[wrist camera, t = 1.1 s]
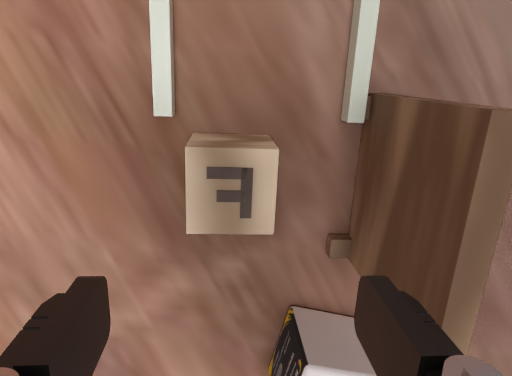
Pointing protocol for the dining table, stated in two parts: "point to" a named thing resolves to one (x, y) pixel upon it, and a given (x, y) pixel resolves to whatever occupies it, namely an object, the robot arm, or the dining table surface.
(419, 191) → the screen
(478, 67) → the dining table surface
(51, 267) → the dining table surface
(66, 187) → the dining table surface
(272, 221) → the letter cube
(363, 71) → the bay
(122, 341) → the dining table surface
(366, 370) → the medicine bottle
